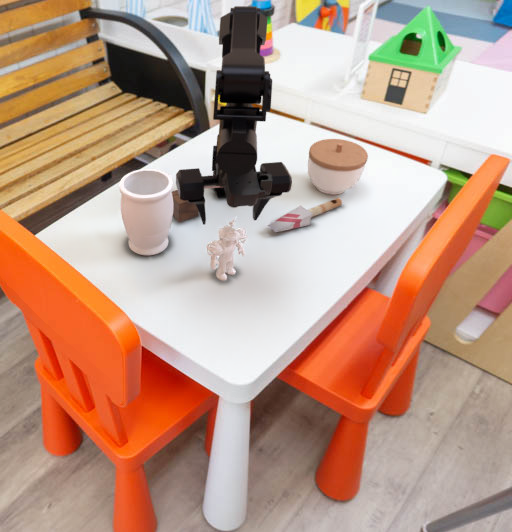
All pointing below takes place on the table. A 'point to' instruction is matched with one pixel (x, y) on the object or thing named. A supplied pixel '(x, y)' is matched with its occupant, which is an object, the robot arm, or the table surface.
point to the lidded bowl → (335, 165)
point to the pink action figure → (226, 250)
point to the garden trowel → (302, 216)
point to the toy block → (183, 208)
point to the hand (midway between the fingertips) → (229, 221)
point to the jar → (147, 209)
